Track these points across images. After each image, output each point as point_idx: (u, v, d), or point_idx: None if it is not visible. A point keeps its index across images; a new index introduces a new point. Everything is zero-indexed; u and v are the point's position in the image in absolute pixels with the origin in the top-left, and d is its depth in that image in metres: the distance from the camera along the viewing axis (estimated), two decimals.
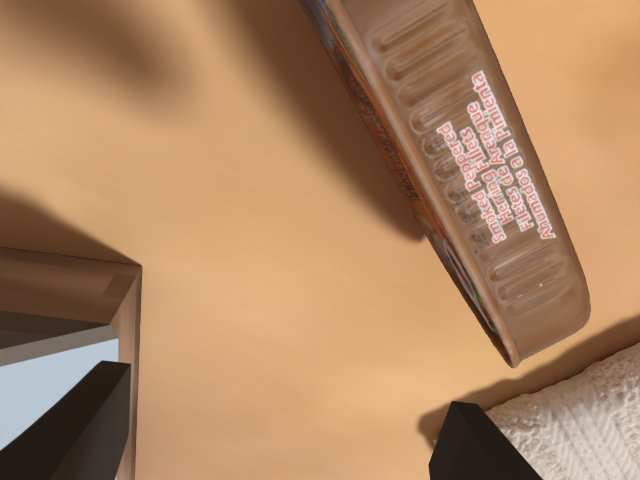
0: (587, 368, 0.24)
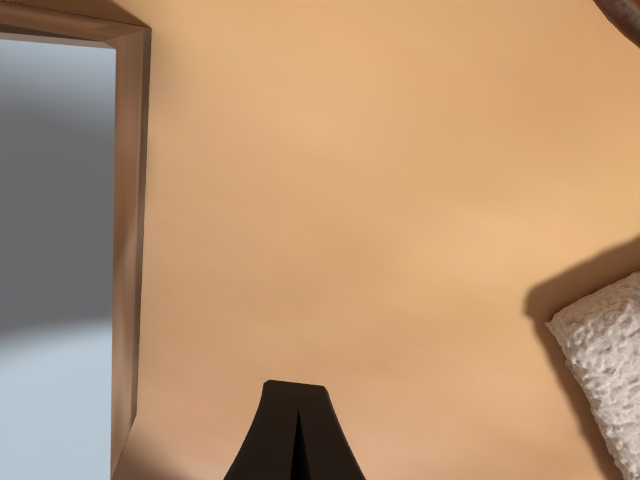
0: None
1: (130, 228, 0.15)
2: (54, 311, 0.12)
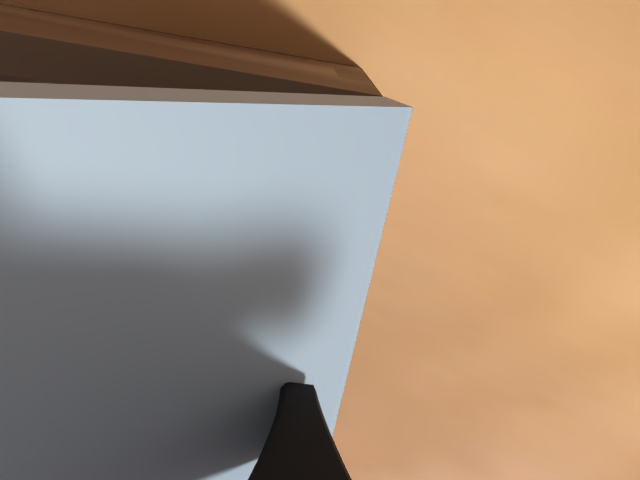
0: None
1: None
2: (309, 368, 0.12)
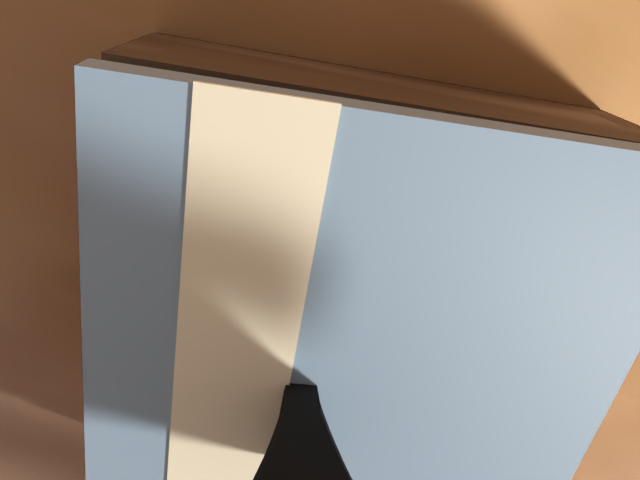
0: None
1: None
2: (566, 393, 0.12)
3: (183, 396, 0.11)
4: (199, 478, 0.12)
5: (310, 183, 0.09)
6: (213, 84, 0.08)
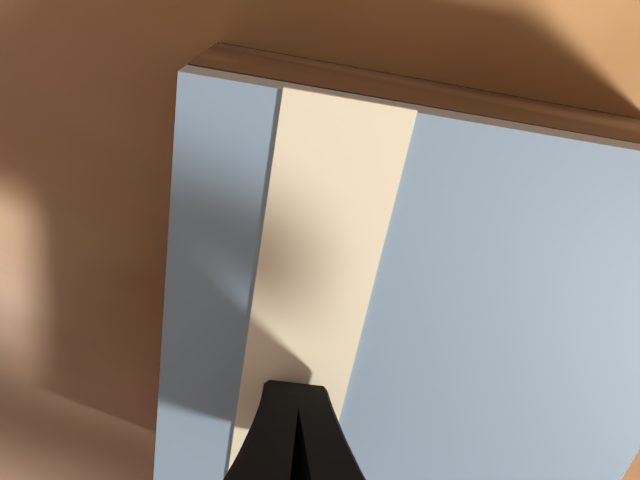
0: None
1: None
2: (618, 397, 0.13)
3: (251, 381, 0.12)
4: None
5: (383, 184, 0.10)
6: (301, 90, 0.09)
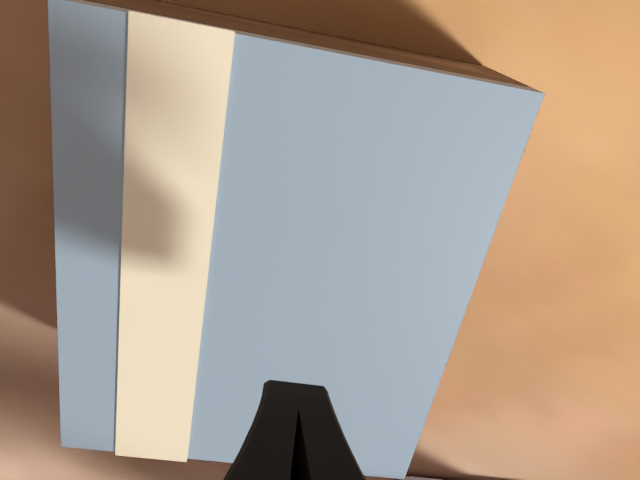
0: None
1: None
2: (432, 282, 0.16)
3: (129, 260, 0.15)
4: (144, 334, 0.16)
5: (217, 92, 0.13)
6: (143, 13, 0.12)
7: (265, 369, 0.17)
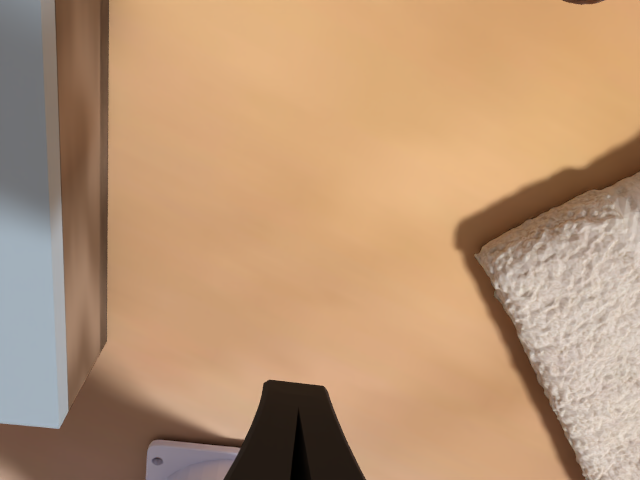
0: None
1: (92, 154, 0.17)
2: None
3: None
4: None
5: None
6: None
7: None
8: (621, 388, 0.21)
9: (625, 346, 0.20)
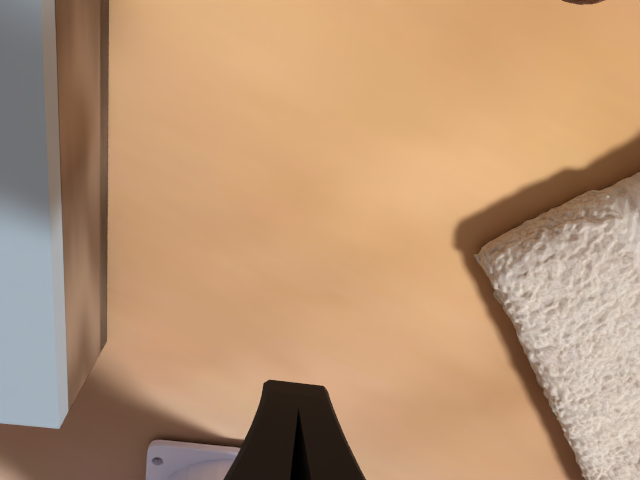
0: None
1: (92, 154, 0.17)
2: None
3: None
4: None
5: None
6: None
7: None
8: (621, 388, 0.21)
9: (624, 347, 0.20)
